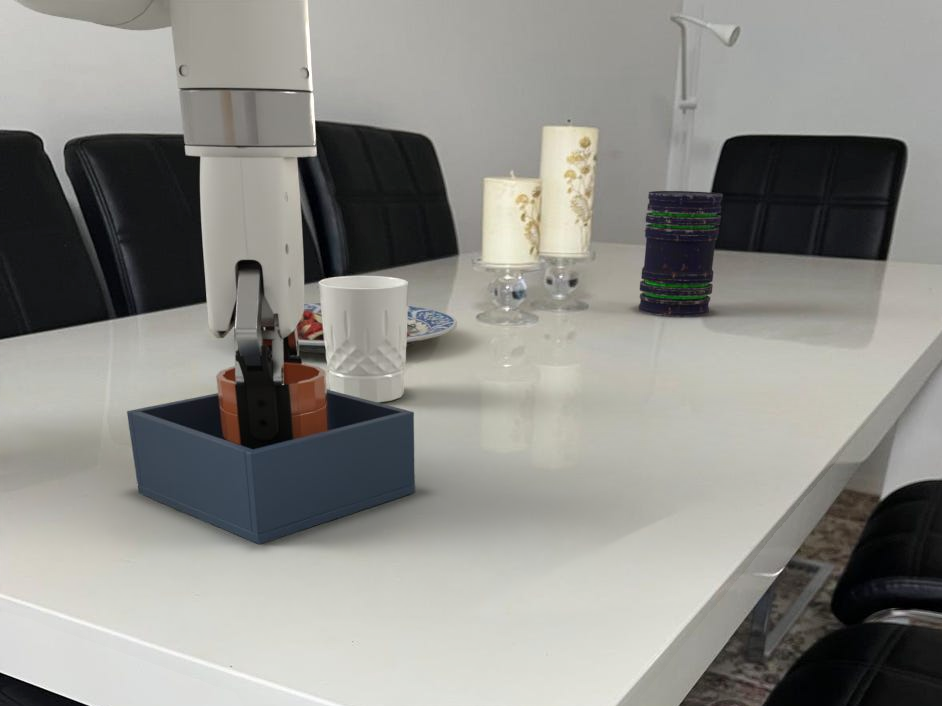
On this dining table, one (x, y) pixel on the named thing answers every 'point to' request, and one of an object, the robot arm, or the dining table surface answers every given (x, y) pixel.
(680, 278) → the storage jar
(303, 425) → the bowl
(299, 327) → the ceramic plate
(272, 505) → the bin
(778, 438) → the dining table surface
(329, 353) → the white cup
